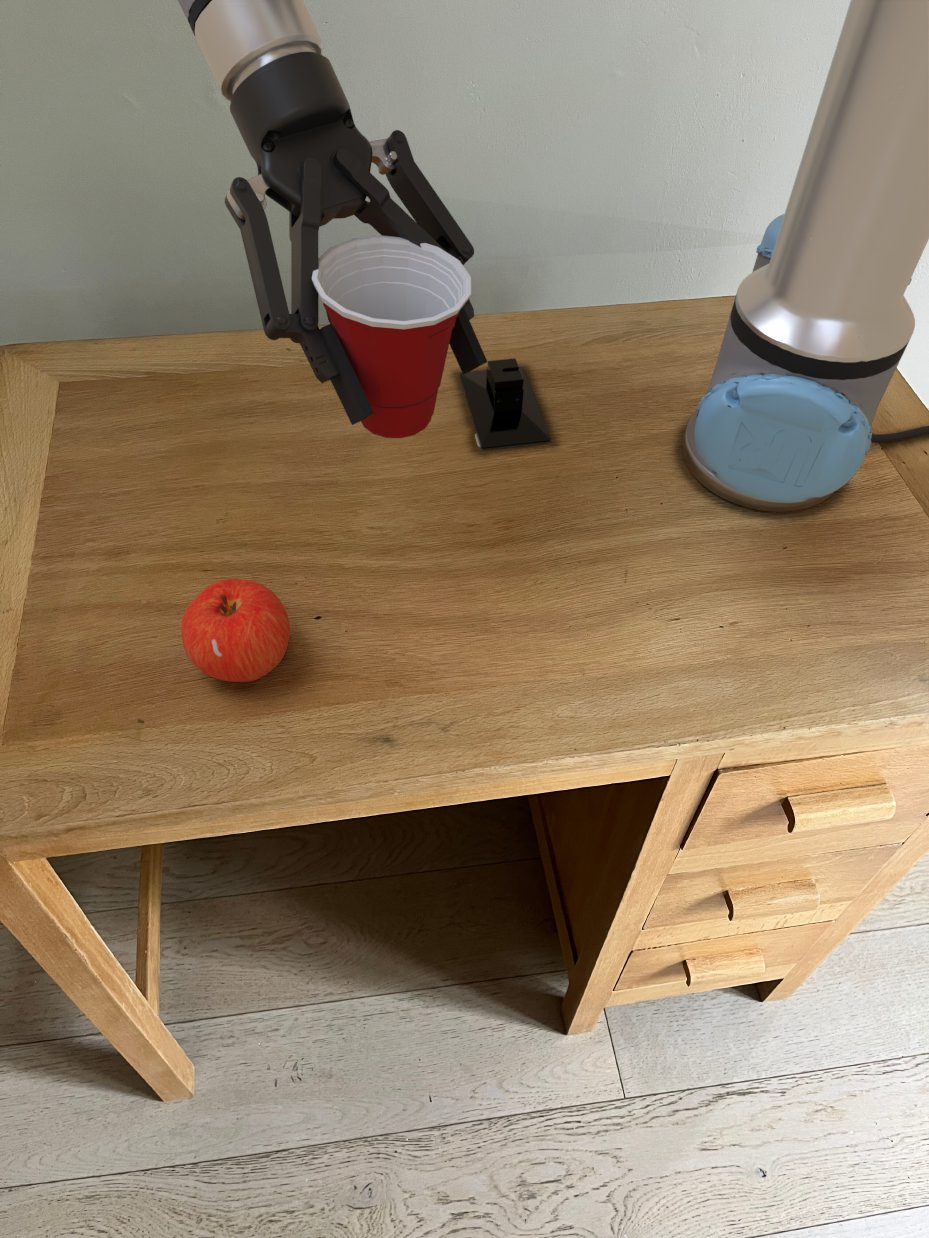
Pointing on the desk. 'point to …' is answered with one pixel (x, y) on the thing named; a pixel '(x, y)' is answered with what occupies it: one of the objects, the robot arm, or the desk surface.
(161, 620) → the desk surface
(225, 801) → the desk surface
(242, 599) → the apple
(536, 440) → the black stand
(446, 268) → the plastic cup
